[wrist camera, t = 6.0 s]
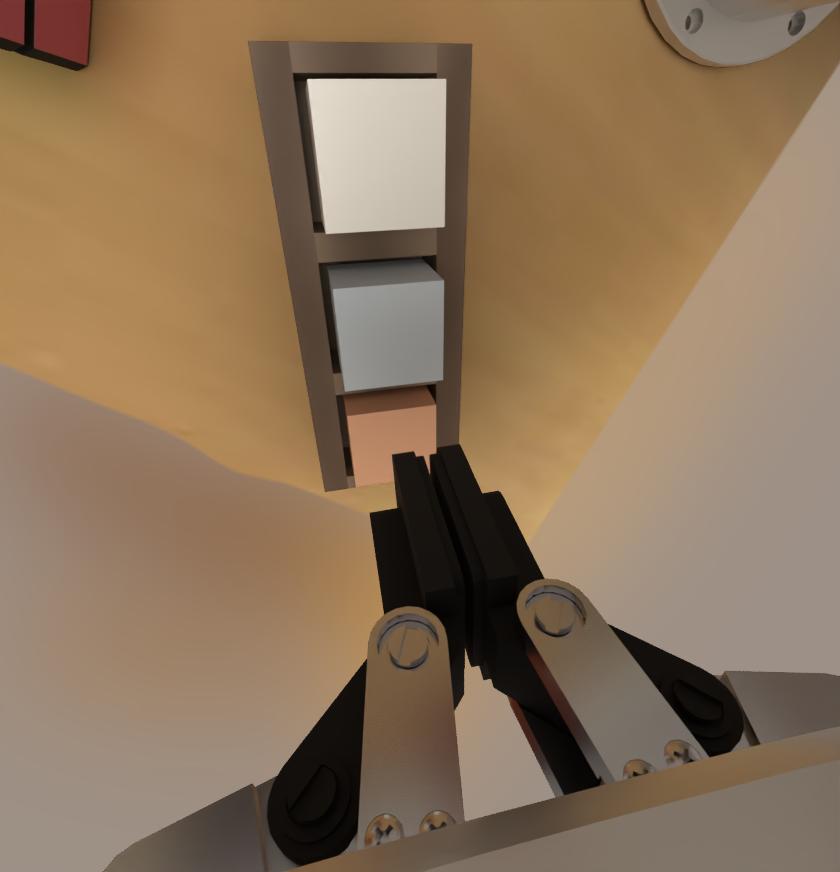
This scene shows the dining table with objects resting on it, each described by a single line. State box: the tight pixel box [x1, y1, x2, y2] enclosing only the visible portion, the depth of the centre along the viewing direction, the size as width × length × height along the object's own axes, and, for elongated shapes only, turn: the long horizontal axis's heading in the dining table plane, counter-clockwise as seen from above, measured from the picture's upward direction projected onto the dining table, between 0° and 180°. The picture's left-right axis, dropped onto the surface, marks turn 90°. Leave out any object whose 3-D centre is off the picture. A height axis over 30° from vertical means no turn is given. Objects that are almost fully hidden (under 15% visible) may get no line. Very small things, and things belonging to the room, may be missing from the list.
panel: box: [248, 41, 472, 492], centre depth 24 cm, size 8×20×4 cm, turn 1°
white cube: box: [305, 79, 446, 234], centre depth 18 cm, size 4×4×4 cm
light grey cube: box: [327, 259, 444, 392], centre depth 21 cm, size 4×4×4 cm
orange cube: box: [343, 385, 436, 487], centre depth 26 cm, size 4×4×4 cm
